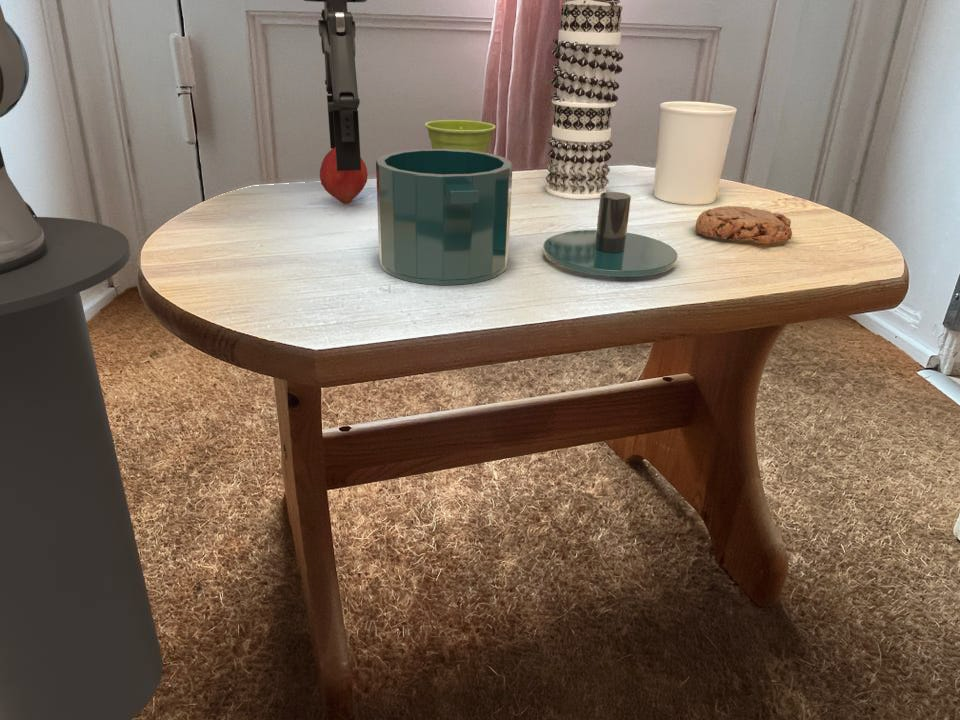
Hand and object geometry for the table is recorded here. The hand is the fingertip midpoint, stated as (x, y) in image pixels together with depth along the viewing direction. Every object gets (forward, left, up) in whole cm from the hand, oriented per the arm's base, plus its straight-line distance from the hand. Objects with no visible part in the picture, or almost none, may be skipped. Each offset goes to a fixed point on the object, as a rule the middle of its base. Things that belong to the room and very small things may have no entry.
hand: (344, 158), depth 90 cm
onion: (0, 0, -6) cm, 6 cm away
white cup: (+46, -2, -6) cm, 46 cm away
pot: (+8, -25, -6) cm, 26 cm away
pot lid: (+25, -26, -5) cm, 36 cm away
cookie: (+44, -20, -6) cm, 48 cm away
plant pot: (+16, +6, -6) cm, 18 cm away
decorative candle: (+32, +3, -6) cm, 32 cm away
